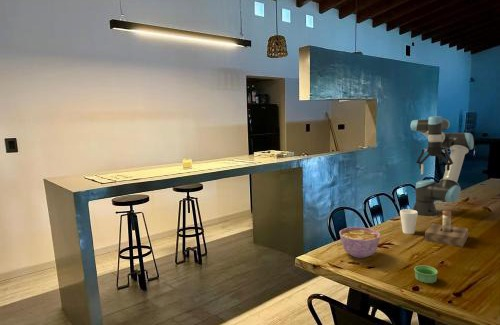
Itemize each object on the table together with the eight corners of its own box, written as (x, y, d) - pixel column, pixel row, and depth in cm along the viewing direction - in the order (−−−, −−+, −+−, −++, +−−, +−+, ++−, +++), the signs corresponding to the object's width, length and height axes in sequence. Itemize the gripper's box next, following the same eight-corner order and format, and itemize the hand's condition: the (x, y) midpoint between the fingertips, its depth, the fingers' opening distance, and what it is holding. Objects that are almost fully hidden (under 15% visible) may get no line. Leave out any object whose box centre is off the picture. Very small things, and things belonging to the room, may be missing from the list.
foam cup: (399, 233, 197) (399, 212, 195) (400, 229, 205) (400, 208, 203) (417, 235, 193) (417, 214, 191) (417, 230, 201) (417, 210, 199)
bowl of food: (332, 251, 177) (331, 230, 175) (362, 244, 184) (362, 224, 182) (356, 266, 158) (356, 243, 157) (389, 258, 165) (389, 236, 163)
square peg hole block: (424, 240, 185) (425, 231, 184) (432, 231, 198) (432, 223, 198) (462, 247, 173) (462, 238, 173) (467, 237, 187) (468, 228, 186)
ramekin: (429, 273, 147) (429, 264, 147) (442, 283, 138) (442, 273, 138) (410, 275, 147) (410, 265, 146) (421, 285, 138) (421, 275, 137)
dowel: (441, 239, 186) (441, 211, 184) (442, 236, 189) (443, 209, 187) (449, 240, 183) (450, 212, 181) (451, 238, 186) (451, 210, 184)
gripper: (411, 141, 211) (411, 174, 214) (456, 141, 195) (455, 177, 197) (414, 140, 217) (414, 172, 219) (459, 140, 200) (458, 175, 203)
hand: (434, 174), depth 208 cm, fingers open, 13 cm apart
